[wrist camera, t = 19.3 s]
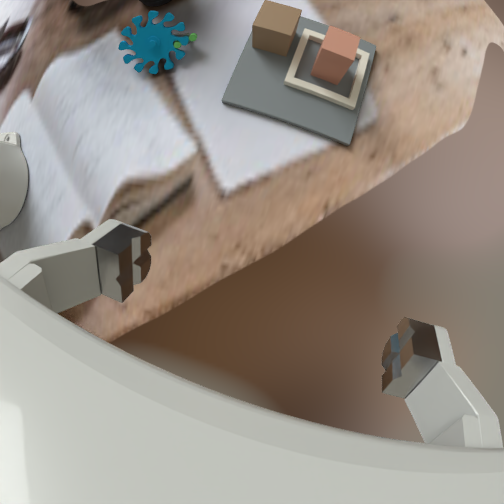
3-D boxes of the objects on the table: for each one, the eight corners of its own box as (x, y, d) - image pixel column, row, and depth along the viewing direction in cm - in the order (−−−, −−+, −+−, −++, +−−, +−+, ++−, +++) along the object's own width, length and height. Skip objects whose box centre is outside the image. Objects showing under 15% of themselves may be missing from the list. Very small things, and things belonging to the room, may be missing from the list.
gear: (119, 78, 37) (115, 15, 29) (128, 66, 40) (126, 10, 33) (194, 74, 38) (198, 9, 31) (197, 62, 42) (200, 5, 34)
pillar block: (310, 74, 38) (321, 48, 30) (317, 53, 37) (329, 25, 29) (337, 85, 38) (354, 60, 30) (343, 63, 37) (360, 37, 29)
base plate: (222, 102, 39) (217, 82, 32) (263, 9, 37) (265, -17, 30) (347, 145, 40) (364, 133, 33) (374, 48, 38) (390, 27, 31)
